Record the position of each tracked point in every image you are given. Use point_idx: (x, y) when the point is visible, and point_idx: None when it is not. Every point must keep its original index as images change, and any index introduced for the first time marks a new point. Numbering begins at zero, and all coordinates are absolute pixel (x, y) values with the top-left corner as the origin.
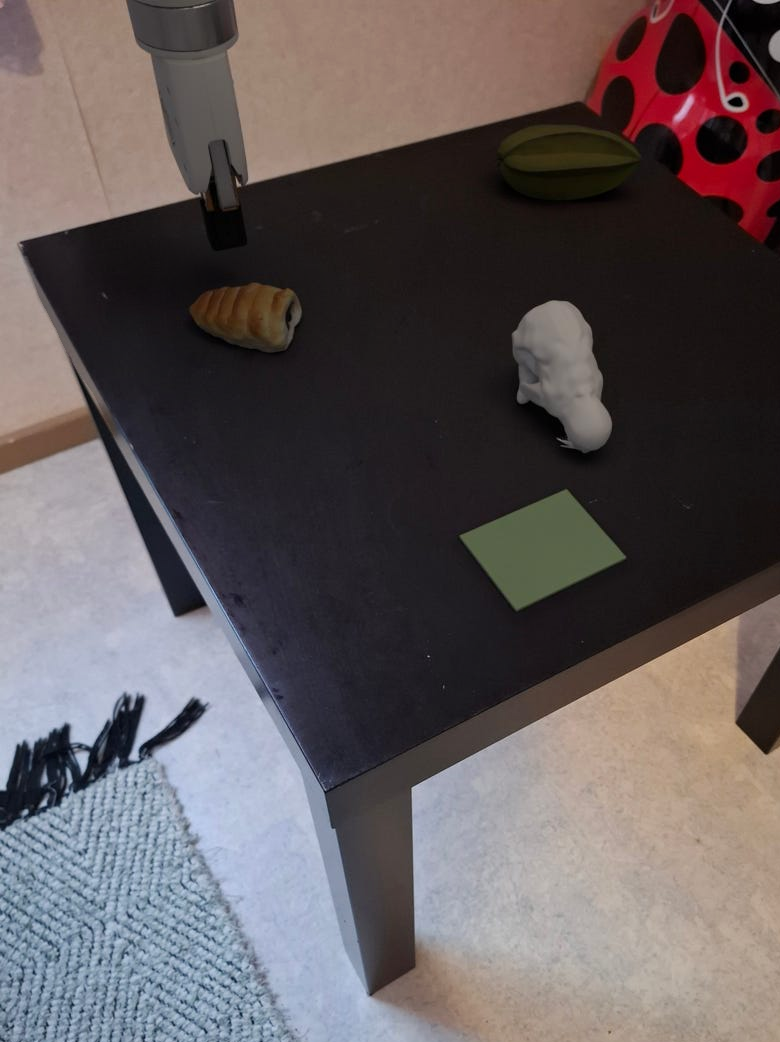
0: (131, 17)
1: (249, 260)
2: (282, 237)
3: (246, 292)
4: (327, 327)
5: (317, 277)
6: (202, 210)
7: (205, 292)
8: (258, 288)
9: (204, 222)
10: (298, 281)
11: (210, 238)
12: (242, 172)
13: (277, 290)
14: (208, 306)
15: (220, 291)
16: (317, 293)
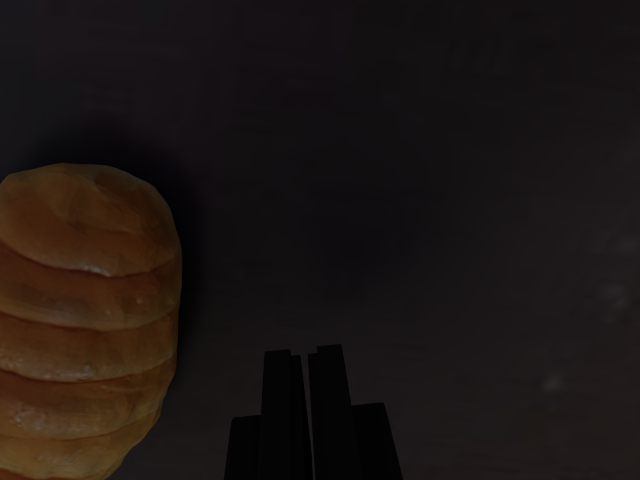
0: None
1: (409, 344)
2: (484, 427)
3: (14, 407)
4: None
5: None
6: (327, 475)
7: (136, 244)
8: (45, 439)
9: (338, 408)
10: None
11: (264, 389)
12: None
13: (66, 470)
14: (12, 252)
15: (104, 303)
16: (216, 468)
